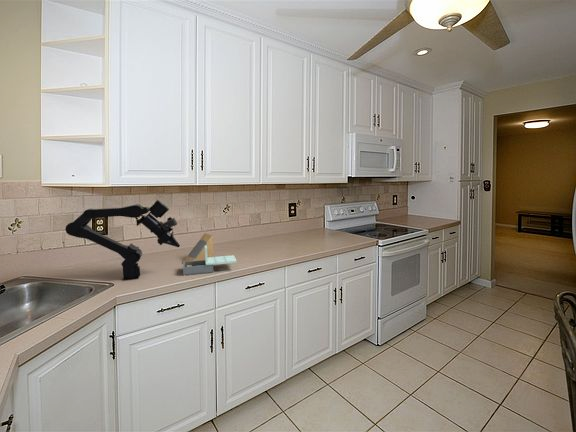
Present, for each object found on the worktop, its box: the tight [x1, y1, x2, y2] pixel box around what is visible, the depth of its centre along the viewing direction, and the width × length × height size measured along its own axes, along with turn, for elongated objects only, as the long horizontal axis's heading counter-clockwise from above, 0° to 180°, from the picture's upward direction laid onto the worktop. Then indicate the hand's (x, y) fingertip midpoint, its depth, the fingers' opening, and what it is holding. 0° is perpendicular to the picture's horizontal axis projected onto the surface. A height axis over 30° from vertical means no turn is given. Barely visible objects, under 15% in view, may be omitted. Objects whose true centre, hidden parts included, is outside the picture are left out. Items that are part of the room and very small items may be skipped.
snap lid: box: [205, 246, 238, 266], centre depth 149 cm, size 15×11×8 cm
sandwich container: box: [181, 232, 214, 265], centre depth 162 cm, size 9×15×15 cm, turn 135°
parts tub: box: [182, 260, 214, 276], centre depth 147 cm, size 14×10×4 cm
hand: (179, 246), depth 143 cm, fingers closed
